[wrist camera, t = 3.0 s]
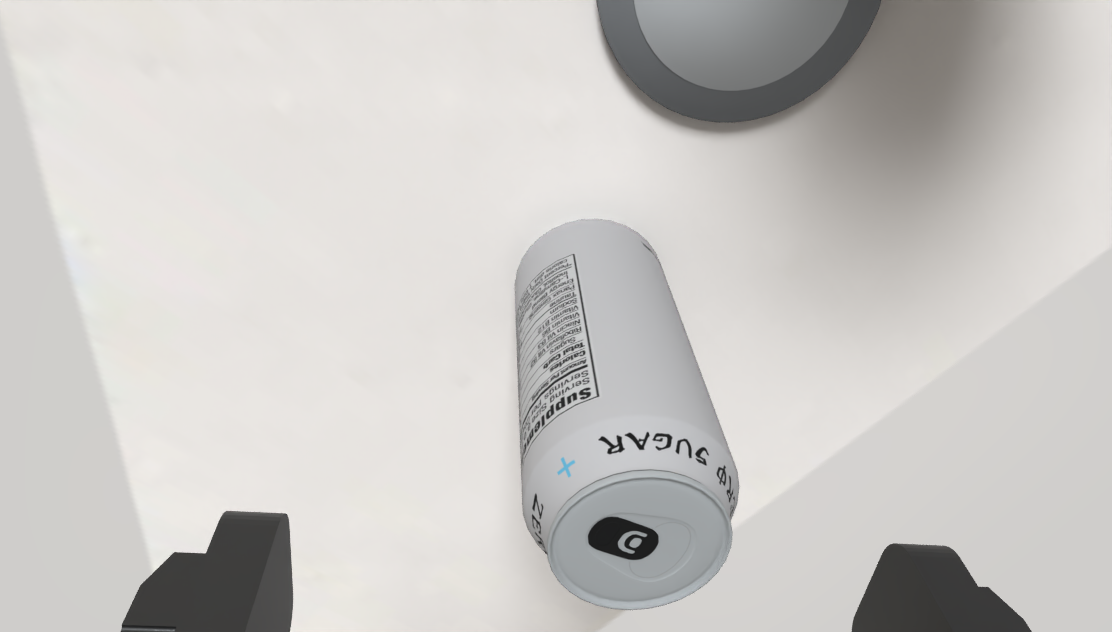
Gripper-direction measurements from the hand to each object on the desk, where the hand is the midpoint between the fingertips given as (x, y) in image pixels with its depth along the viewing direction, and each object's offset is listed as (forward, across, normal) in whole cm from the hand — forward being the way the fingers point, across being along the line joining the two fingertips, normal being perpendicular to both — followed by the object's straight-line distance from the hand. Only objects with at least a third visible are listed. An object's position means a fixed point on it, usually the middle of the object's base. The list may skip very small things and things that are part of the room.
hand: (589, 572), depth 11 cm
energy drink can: (+23, -3, +7) cm, 24 cm away
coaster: (+22, -7, -5) cm, 24 cm away
